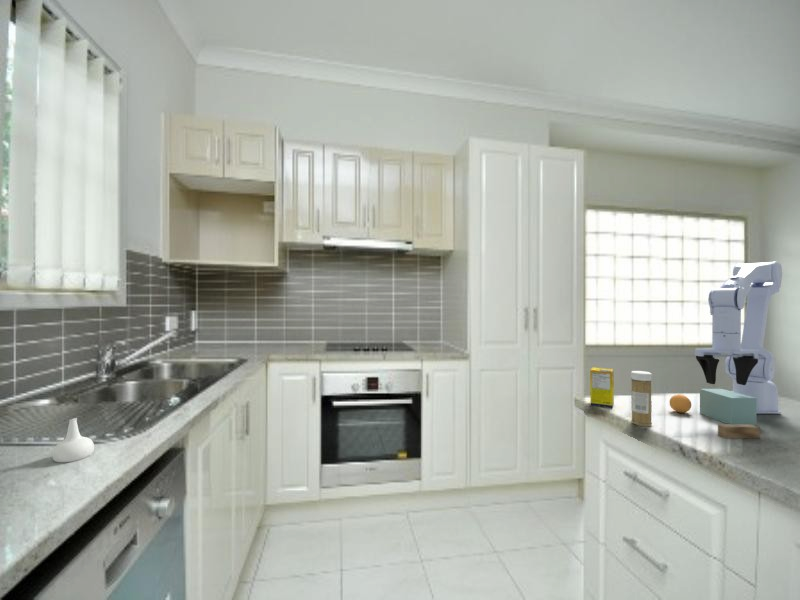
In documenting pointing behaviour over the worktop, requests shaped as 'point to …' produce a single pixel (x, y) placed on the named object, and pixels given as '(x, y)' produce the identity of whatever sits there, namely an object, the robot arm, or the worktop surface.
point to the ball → (680, 403)
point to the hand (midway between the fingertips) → (726, 383)
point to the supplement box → (602, 387)
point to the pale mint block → (728, 406)
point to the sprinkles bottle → (641, 398)
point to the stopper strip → (738, 431)
